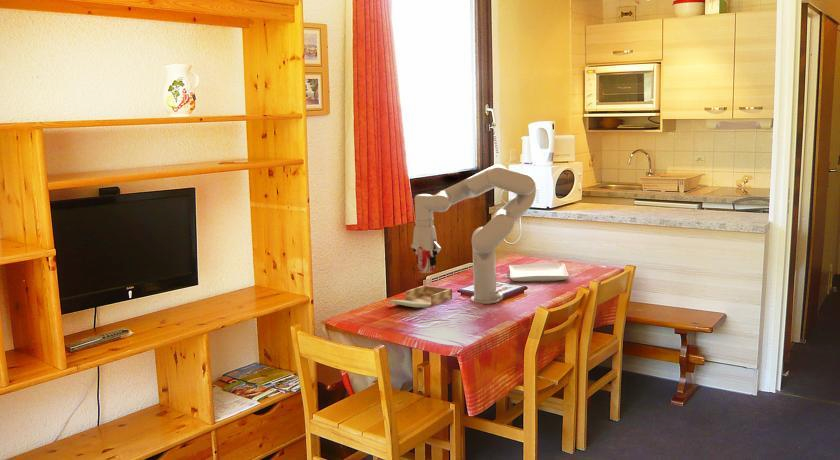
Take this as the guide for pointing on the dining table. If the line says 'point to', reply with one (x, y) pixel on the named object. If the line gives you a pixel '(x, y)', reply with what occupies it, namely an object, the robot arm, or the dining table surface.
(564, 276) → the square plate
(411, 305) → the panel
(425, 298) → the crate
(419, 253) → the soda can
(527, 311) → the dining table surface
